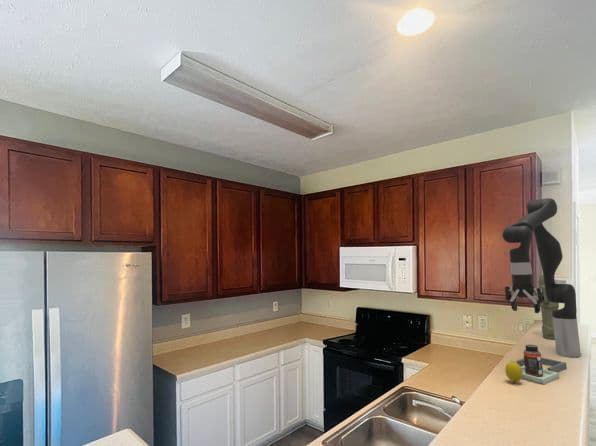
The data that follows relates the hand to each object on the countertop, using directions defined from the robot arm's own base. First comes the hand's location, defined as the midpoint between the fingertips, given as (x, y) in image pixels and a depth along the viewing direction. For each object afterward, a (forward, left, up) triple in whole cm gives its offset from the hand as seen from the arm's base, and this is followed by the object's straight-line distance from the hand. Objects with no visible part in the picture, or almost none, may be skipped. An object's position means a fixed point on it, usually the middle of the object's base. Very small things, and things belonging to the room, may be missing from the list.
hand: (525, 311), depth 144 cm
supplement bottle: (+5, +4, -24) cm, 25 cm away
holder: (-8, 0, -24) cm, 26 cm away
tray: (+6, +4, -24) cm, 25 cm away
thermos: (-65, -21, -25) cm, 73 cm away
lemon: (+18, +3, -25) cm, 30 cm away
